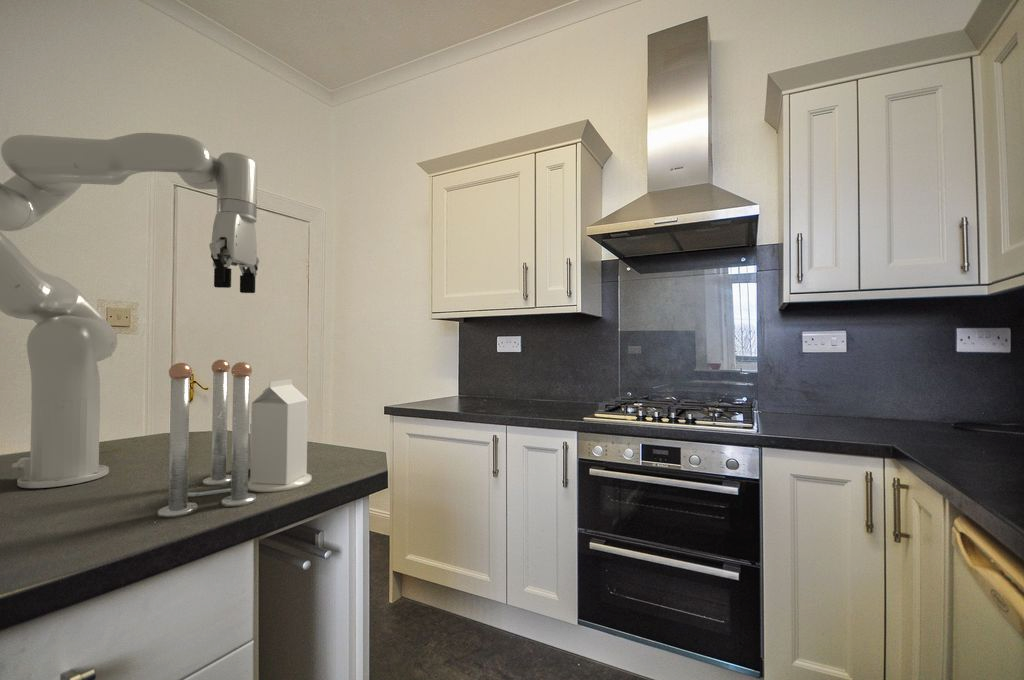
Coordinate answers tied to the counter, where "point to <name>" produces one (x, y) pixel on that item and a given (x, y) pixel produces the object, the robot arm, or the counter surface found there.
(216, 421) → the post
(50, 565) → the counter surface
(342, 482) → the counter surface
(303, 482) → the coaster
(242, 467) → the post
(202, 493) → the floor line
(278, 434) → the milk carton
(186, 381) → the post
